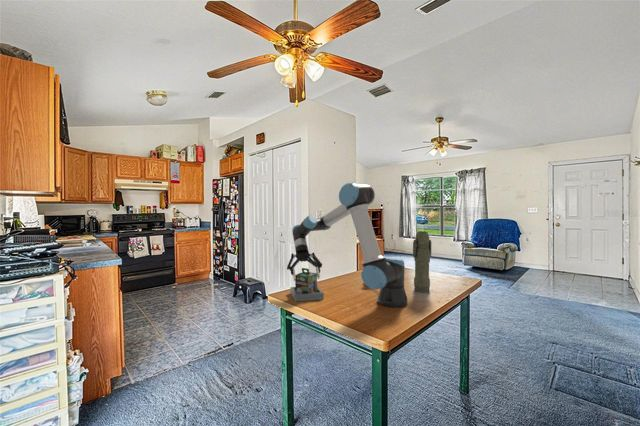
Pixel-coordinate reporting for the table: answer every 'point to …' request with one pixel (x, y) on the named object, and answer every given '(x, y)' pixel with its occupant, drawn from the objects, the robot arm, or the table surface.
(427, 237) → the green stone statue
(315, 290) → the chalk box
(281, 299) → the table surface
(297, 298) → the tray
